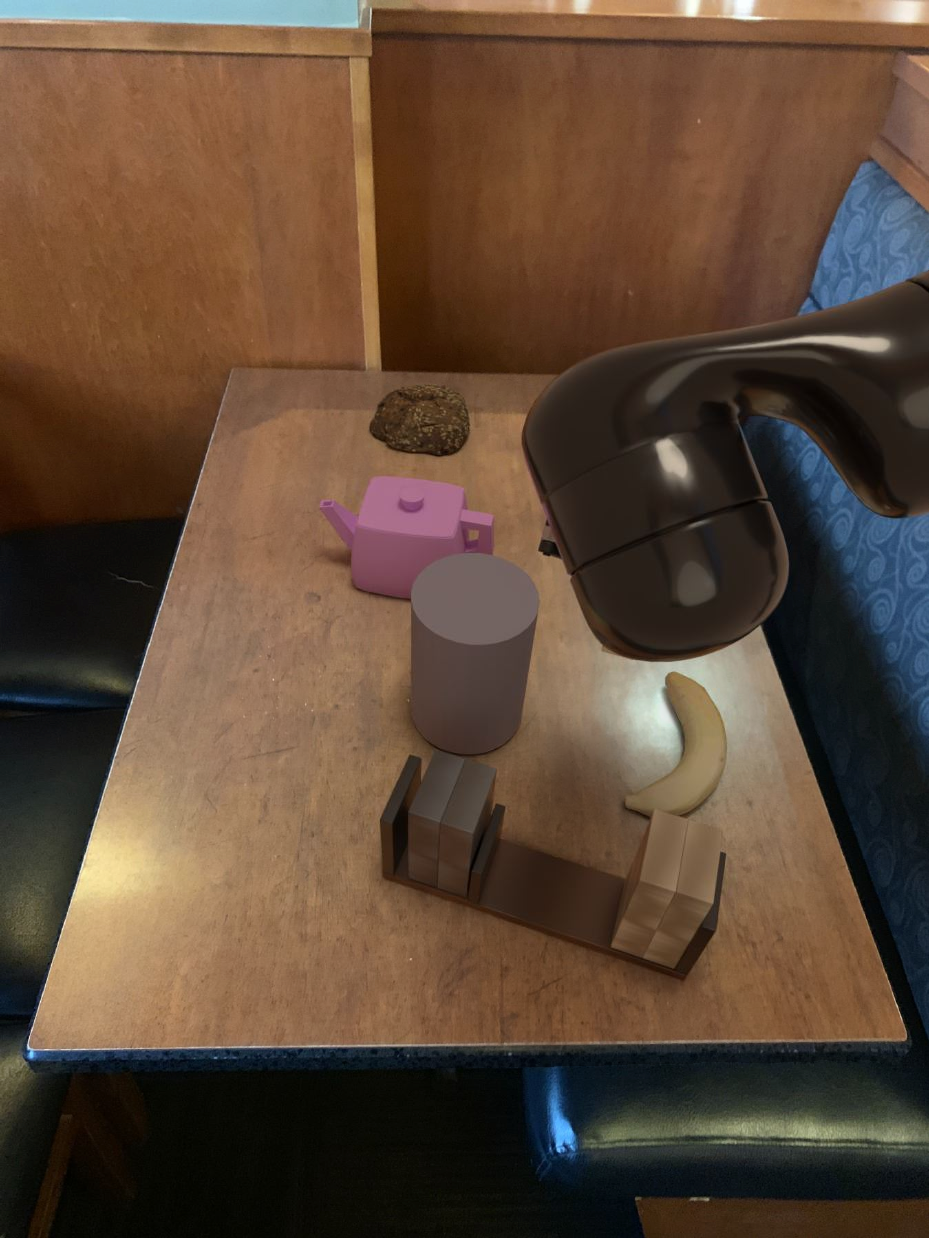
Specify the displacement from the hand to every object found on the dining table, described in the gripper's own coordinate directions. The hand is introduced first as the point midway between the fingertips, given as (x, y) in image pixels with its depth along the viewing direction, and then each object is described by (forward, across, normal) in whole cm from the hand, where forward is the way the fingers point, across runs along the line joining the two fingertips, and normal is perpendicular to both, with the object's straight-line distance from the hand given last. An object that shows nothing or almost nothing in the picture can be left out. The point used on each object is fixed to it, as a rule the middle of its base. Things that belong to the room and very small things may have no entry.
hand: (641, 568), depth 62 cm
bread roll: (+43, +32, -13) cm, 55 cm away
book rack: (+4, +1, +26) cm, 27 cm away
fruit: (+16, -7, +14) cm, 22 cm away
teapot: (+25, +24, +5) cm, 35 cm away
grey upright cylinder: (+14, +12, +16) cm, 25 cm away
